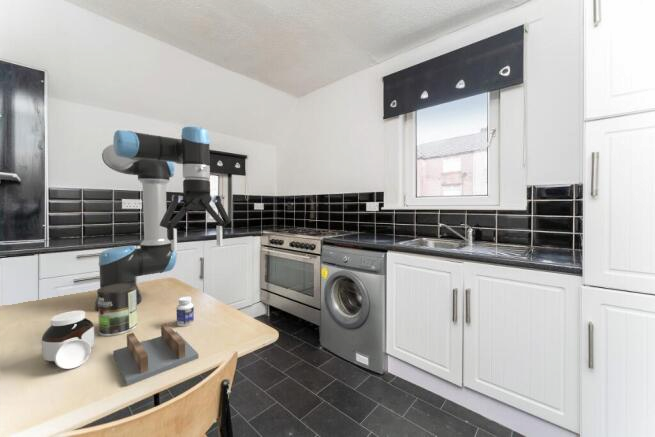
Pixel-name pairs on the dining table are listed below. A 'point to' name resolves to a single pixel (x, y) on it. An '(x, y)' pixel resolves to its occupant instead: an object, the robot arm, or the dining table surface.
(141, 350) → the wooden rail pair
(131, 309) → the coffee can
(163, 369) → the plate
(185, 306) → the pill bottle
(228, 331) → the dining table surface
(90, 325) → the spread jar
